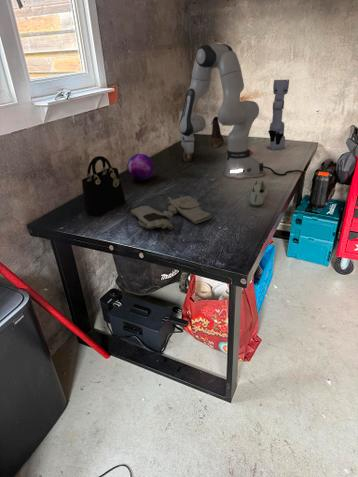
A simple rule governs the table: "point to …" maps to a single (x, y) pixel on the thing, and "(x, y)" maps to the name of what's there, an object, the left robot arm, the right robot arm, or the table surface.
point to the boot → (216, 133)
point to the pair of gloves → (170, 213)
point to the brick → (186, 157)
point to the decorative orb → (140, 167)
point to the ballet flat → (258, 193)
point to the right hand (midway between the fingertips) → (274, 142)
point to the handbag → (102, 188)
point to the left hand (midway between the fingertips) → (187, 156)
